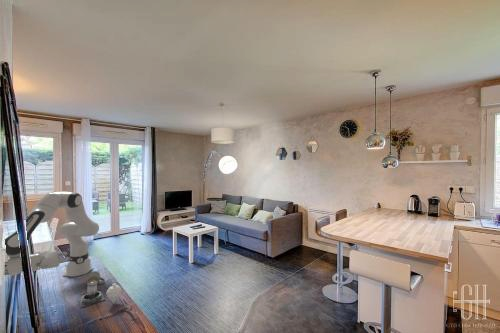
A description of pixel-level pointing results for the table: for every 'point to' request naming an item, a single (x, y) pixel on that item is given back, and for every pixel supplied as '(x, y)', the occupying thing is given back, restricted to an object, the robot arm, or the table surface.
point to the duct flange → (91, 300)
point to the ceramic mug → (95, 277)
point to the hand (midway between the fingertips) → (68, 255)
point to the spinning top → (113, 292)
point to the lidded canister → (92, 289)
